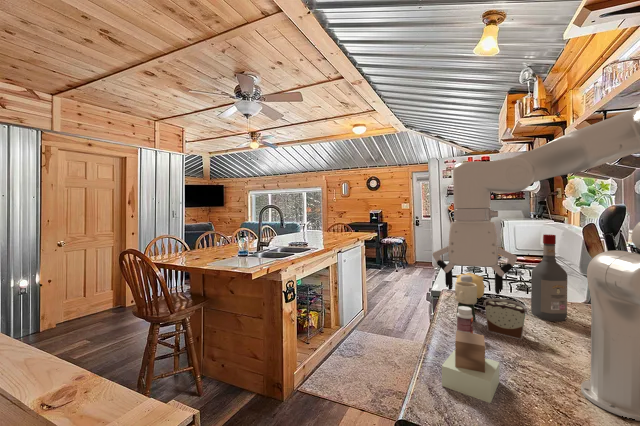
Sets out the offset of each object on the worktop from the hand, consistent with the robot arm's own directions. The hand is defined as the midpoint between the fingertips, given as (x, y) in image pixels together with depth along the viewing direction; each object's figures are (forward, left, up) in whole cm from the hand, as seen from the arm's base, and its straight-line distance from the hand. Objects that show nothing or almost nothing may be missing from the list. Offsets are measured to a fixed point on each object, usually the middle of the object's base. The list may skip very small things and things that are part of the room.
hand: (473, 290), depth 70 cm
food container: (-10, -36, -22) cm, 43 cm away
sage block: (0, 0, -22) cm, 22 cm away
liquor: (-25, -58, -22) cm, 67 cm away
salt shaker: (+2, -56, -22) cm, 60 cm away
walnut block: (+1, 0, -17) cm, 17 cm away
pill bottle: (+2, -29, -22) cm, 36 cm away
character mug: (+2, -42, -22) cm, 47 cm away
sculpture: (+1, -72, -22) cm, 75 cm away
